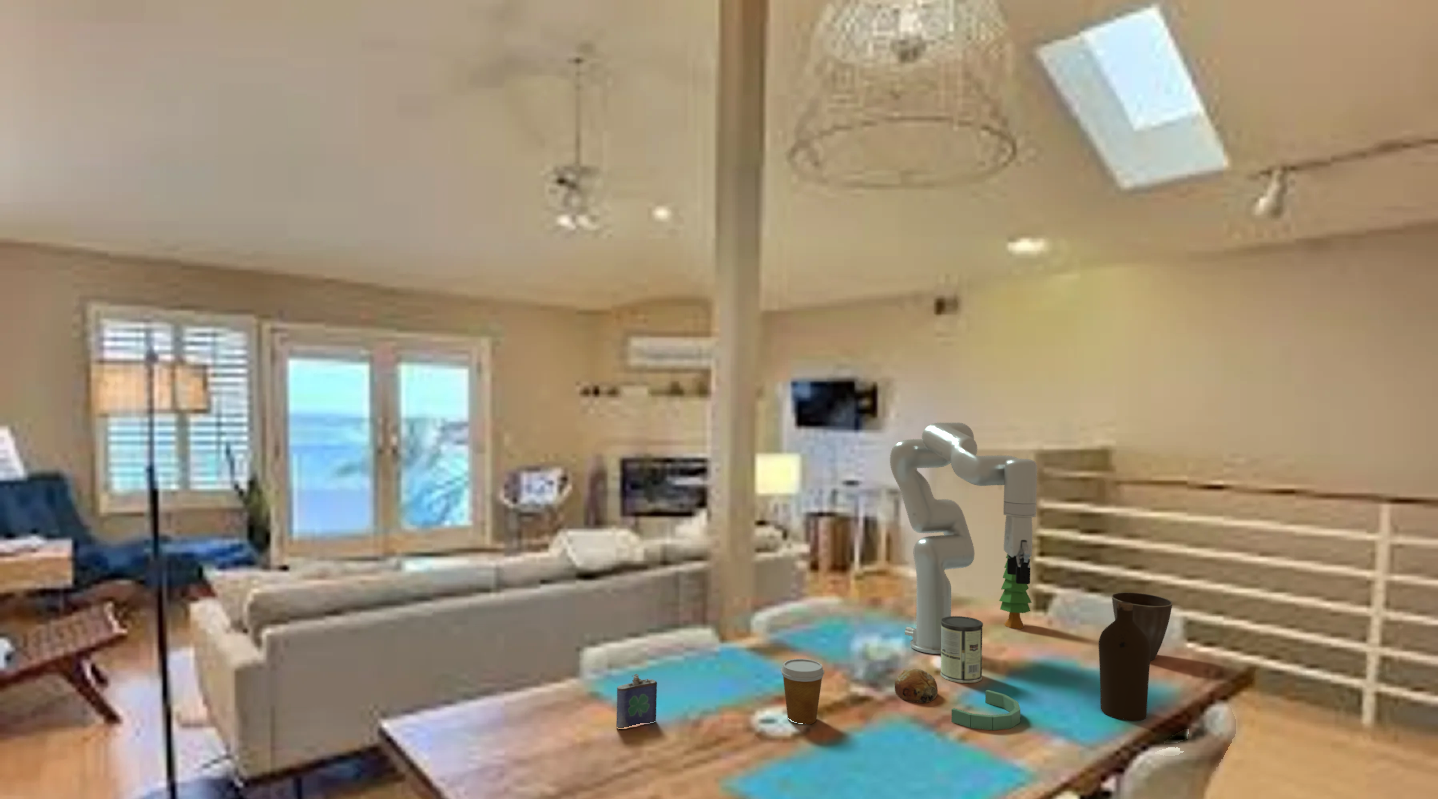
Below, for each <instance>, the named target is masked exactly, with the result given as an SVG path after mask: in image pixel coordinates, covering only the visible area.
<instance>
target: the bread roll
mask: <svg viewBox="0 0 1438 799" xmlns="http://www.w3.org/2000/svg"><path fill="white" fill-rule="evenodd" d="M938 692H939V691H938V683H937V681H936V680H935V678H934V677H933V675H932V674H931V673H929V672H928V671H925V670H923V669H921V668H911V669H910V668H909V669H905V670H903V672H901V673H900V674H899V675H897V678H896V679H895V680H894V693H895V695H897V697H899V698H900V699H901V700H903V701H907V702H910V703H923V704H924V703H929V702H932V701H934V700H935V699H936V697H937V696H938V695H939V693H938Z"/></svg>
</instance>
